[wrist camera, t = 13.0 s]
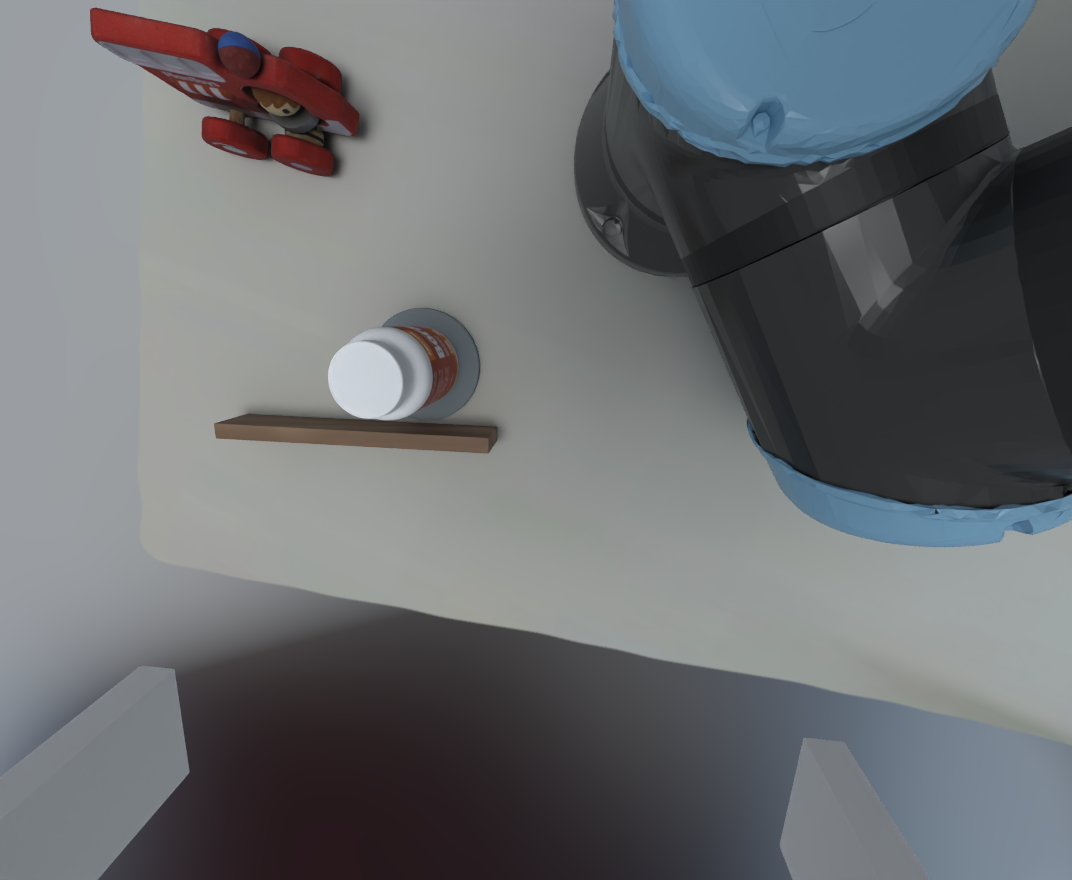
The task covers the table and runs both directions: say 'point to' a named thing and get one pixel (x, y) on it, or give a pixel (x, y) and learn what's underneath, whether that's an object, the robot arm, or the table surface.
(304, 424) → the divider rail
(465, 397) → the slate pad
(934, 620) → the table surface
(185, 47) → the toy fire truck
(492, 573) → the table surface
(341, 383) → the pill bottle
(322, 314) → the table surface
